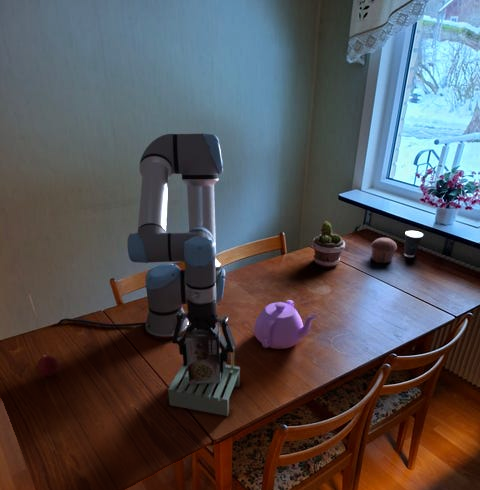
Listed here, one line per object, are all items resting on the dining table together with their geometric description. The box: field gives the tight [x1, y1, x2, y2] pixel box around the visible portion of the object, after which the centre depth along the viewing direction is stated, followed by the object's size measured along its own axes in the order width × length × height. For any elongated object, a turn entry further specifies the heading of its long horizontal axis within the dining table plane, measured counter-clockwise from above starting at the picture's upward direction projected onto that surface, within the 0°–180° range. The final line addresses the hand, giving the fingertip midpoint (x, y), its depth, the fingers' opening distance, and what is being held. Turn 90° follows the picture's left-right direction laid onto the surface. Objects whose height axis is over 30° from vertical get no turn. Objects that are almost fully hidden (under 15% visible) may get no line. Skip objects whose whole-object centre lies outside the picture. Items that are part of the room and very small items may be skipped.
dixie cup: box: [403, 230, 424, 258], centre depth 212 cm, size 8×8×11 cm
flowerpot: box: [311, 219, 346, 268], centre depth 201 cm, size 14×15×20 cm
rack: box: [167, 350, 241, 417], centre depth 128 cm, size 17×14×13 cm
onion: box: [36, 354, 59, 377], centre depth 136 cm, size 6×6×8 cm
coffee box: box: [185, 323, 221, 385], centre depth 123 cm, size 9×6×16 cm
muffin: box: [370, 237, 398, 264], centre depth 208 cm, size 12×11×10 cm
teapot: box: [253, 299, 318, 350], centre depth 151 cm, size 22×22×14 cm
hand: (204, 366), depth 126 cm, fingers closed on coffee box, 10 cm apart
